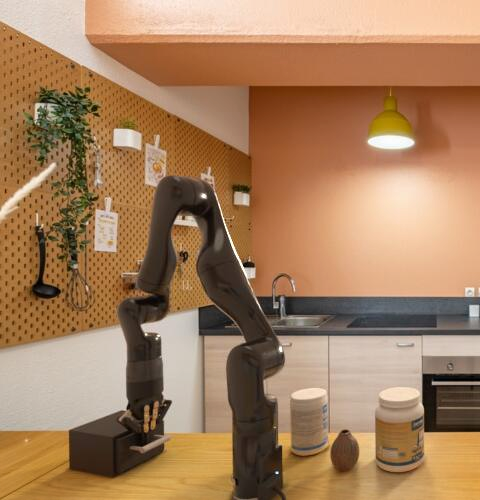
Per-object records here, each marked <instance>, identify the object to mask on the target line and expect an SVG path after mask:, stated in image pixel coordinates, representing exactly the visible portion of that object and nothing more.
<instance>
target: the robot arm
mask: <svg viewBox="0 0 480 500" xmlns="http://www.w3.org/2000/svg"><path fill="white" fill-rule="evenodd" d="M179 216H180V217H192V218H193V219H194V221H195V223H196V226H197V228H198V230H199V233H200V245H199V249H198V253H197V255H196V256H197V257H196V261H195V271H196V275H197V277H198V279H199V283H200V284H201V286H202V289H203V292H204V293H205V296H206V297H207V298H208V300H209V301H210V302H211V303H212V304H213V305H214V306H215V307H216V308H217V309H219V310H220V312H222V313H223V314H225V315H226V316H227V317H228V318H229V319H230V320H231V321H233V323H234V324H235V325H236V326H237V327H238V329H239V331H240V333H241V335H242V337H243V338H244V342H242V343H240V344H237V345H235V346H234V347H232V348H231V349H230V351H229V353H228V355H227V358H226V362H225V376H226V377H225V380H226V391H227V402H228V405H229V408H230V410H231V433H232V434H231V439H232V440H231V443H232V444H231V446H232V447H231V448H232V450H231V451H232V452H231V453H232V474H230V482H231V484H232V500H271V499H273V497H275V496H276V495H278V496H279V497H280V498H281V500H287V498H286V495H285V493H284V491H283V490H282V489H284V474H283V473H284V471H283V470H284V469H283V468H284V467H283V463H284V462H283V461H284V460H283V459H284V457H283V444H281V443H279V400H278V397H277V396H275V395H274V394H271V393H265V385H264V383H265V382H264V381H266V380H268V379H271V378H273V377H275V376H277V375H278V374H280V373H281V372H282V370H283V369H284V367H285V363H286V356H285V355H286V354H285V351H284V348H283V346H282V343H281V341H280V339H279V338H278V336H277V334H276V332H275V331H274V329H273V327H272V326H271V323H270V322H269V320H268V319H267V316H266V315H265V313H264V311H263V309H262V307H261V305H260V301H258V297H256V294H255V292H254V290H253V288H252V284H251V282H250V281H249V278H248V275H247V272H246V270H245V268H244V266H243V263H242V260H241V259H240V257H239V254H238V253H237V251H236V248H235V246H234V244H233V241H232V239H231V236H230V234H229V231H228V228H227V226H226V223H225V219H224V217H223V212H222V209H221V206H220V202H219V200H218V196H217V194H216V192H215V190H214V187H213V186H212V185H211V184H210V183H209V182H208V181H207V180H205V179H202V178H198V177H192V176H183V175H179V174H178V175H177V174H168V175H165V176H163V177H162V178H161V179H159V181H158V183H157V184H156V187H155V190H154V193H153V199H152V206H151V214H150V218H149V219H150V220H149V227H148V228H149V229H148V236H147V243H146V249H145V253H144V255H143V259H142V262H141V264H140V268H139V270H138V273H137V275H136V279H135V286H136V289H138V290H139V291H141V292H143V293H145V294H147V295H138V296H137V295H136V296H128V297H125V298H122V300H121V301H120V302H119V303H118V305H117V307H116V313H115V314H116V318H117V321H118V324H119V326H120V329H121V331H122V334H123V337H124V340H125V344H126V366H125V394H126V395H125V397H126V400H127V404H126V406H125V411H126V412H125V413H124V414H123V415H122V416H119V417H117V419H116V421H117V422H118V423H120V424H121V425H122V426H123V427H125V428H126V429H127V430H128V431H130V432H134V433H138V439H139V445H140V446H141V447H143V446H146V445H148V444H150V443H152V442H153V440H154V428H155V426H156V425H157V424H160V423H161V422H162V420H164V418H165V417H166V415H167V413H168V411H169V409H170V407H171V405H172V403H173V400H172V399H167V398H165V396H164V394H163V392H164V390H165V389H164V387H165V386H164V384H165V383H164V382H165V381H164V361H163V355H162V353H163V352H162V349H163V348H162V336H161V335H160V334H159V333H157V332H152V331H151V332H149V331H147V332H145V331H144V330H143V328H142V325H148V324H154V323H158V322H161V321H163V320H164V319H165V318H166V317H167V316H168V315H169V313H170V309H171V308H170V307H171V306H170V305H171V303H170V302H171V301H170V299H171V297H170V296H171V284H172V281H173V280H174V276H175V273H176V272H177V271H176V270H177V267H178V263H179V256H178V251H177V249H176V245H175V242H174V238H173V227H174V224H175V223H176V220H177V219H178V217H179ZM131 415H132V416H133V417H134V422H133V421H132V419H133V418H132V416H131ZM158 416H159V417H158ZM157 418H158V419H157Z"/></svg>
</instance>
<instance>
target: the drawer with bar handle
mask: <svg viewBox="0 0 480 500" xmlns="http://www.w3.org/2000/svg"><path fill="white" fill-rule="evenodd" d="M170 440H172V437H171V434H166V435H165V420H164V419H163V420H162V422H161V423H160V424H157V425H156V426H155V428H154V440H153V442H152V443H150V444H148V445H146V446H143V447H141V446H140V445H139V439H138V433H134V432H131V433H128V435H127V434H126V435H124V436H121V437H119V438H117V439H116V440H115V442H116V473H121V472H123V471H125V470H127V469H129V468H130V467H132V466H134V465H136V464H138V463H140V462H142V461H144V460H146V459H148V458H150V457H152V456H154V455H156V454H158V453H159V452H161V451H163V452H164V451H165V443H167V442H168V441H170ZM161 453H162V452H161ZM159 454H160V453H159ZM159 454H158V455H159ZM156 456H157V455H156ZM154 457H155V456H154ZM152 458H153V457H152ZM150 459H151V458H150ZM148 460H149V459H148ZM146 461H147V460H146ZM144 462H145V461H144ZM142 463H143V462H142ZM140 464H141V463H140ZM138 465H139V464H138ZM136 466H137V465H136ZM134 467H135V466H134ZM129 470H130V469H129ZM127 471H128V470H127ZM125 472H126V471H125ZM123 473H124V472H123ZM121 474H122V473H121Z"/></svg>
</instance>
